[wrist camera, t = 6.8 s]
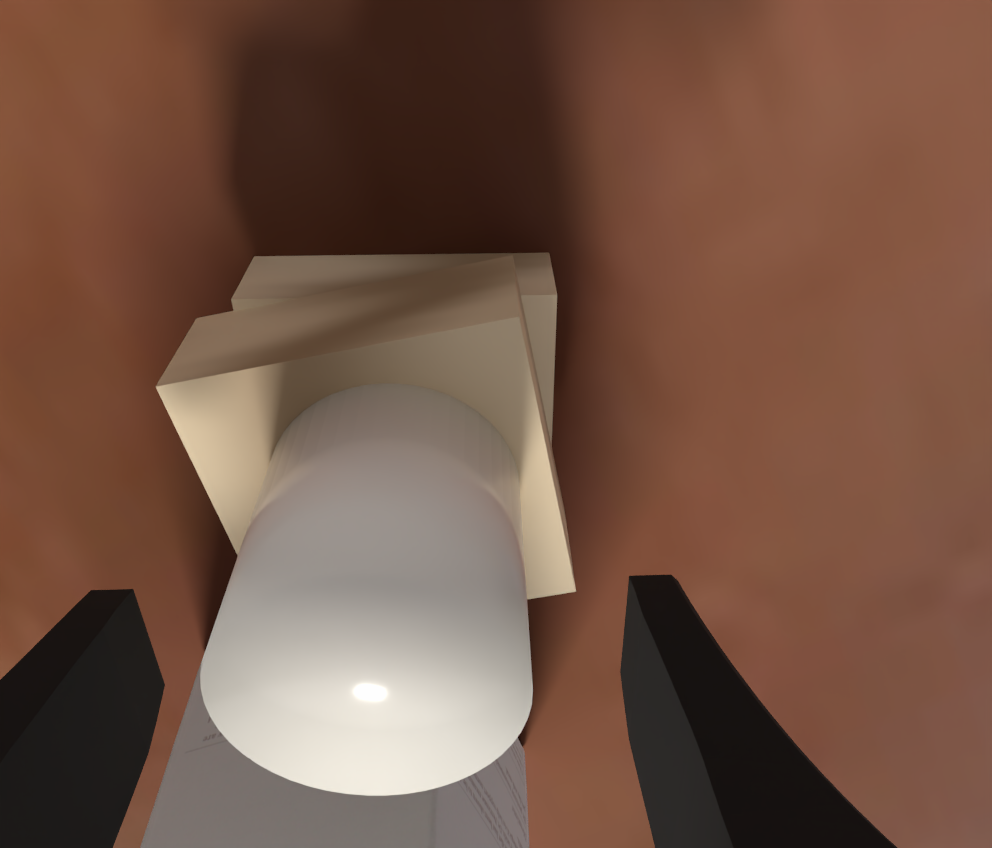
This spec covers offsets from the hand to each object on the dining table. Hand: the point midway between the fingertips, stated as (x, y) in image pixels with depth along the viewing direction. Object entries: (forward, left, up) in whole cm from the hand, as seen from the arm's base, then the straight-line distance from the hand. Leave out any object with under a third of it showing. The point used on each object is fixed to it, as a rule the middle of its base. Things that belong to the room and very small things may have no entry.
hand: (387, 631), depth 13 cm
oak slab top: (0, 0, -6) cm, 6 cm away
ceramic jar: (0, 0, -3) cm, 3 cm away
